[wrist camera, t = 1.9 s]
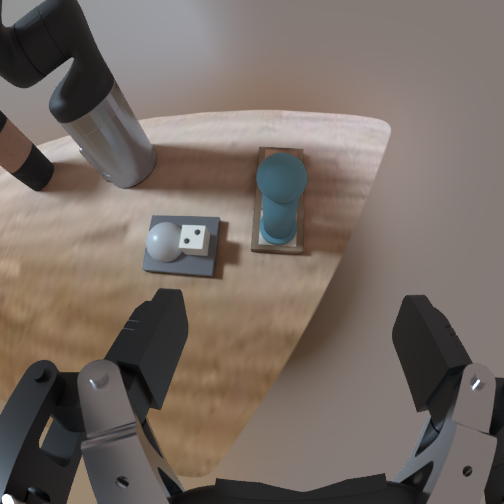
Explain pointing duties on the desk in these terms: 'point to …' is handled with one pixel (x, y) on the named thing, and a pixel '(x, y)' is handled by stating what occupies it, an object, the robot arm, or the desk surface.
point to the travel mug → (22, 156)
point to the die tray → (187, 260)
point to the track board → (257, 240)
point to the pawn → (280, 196)
